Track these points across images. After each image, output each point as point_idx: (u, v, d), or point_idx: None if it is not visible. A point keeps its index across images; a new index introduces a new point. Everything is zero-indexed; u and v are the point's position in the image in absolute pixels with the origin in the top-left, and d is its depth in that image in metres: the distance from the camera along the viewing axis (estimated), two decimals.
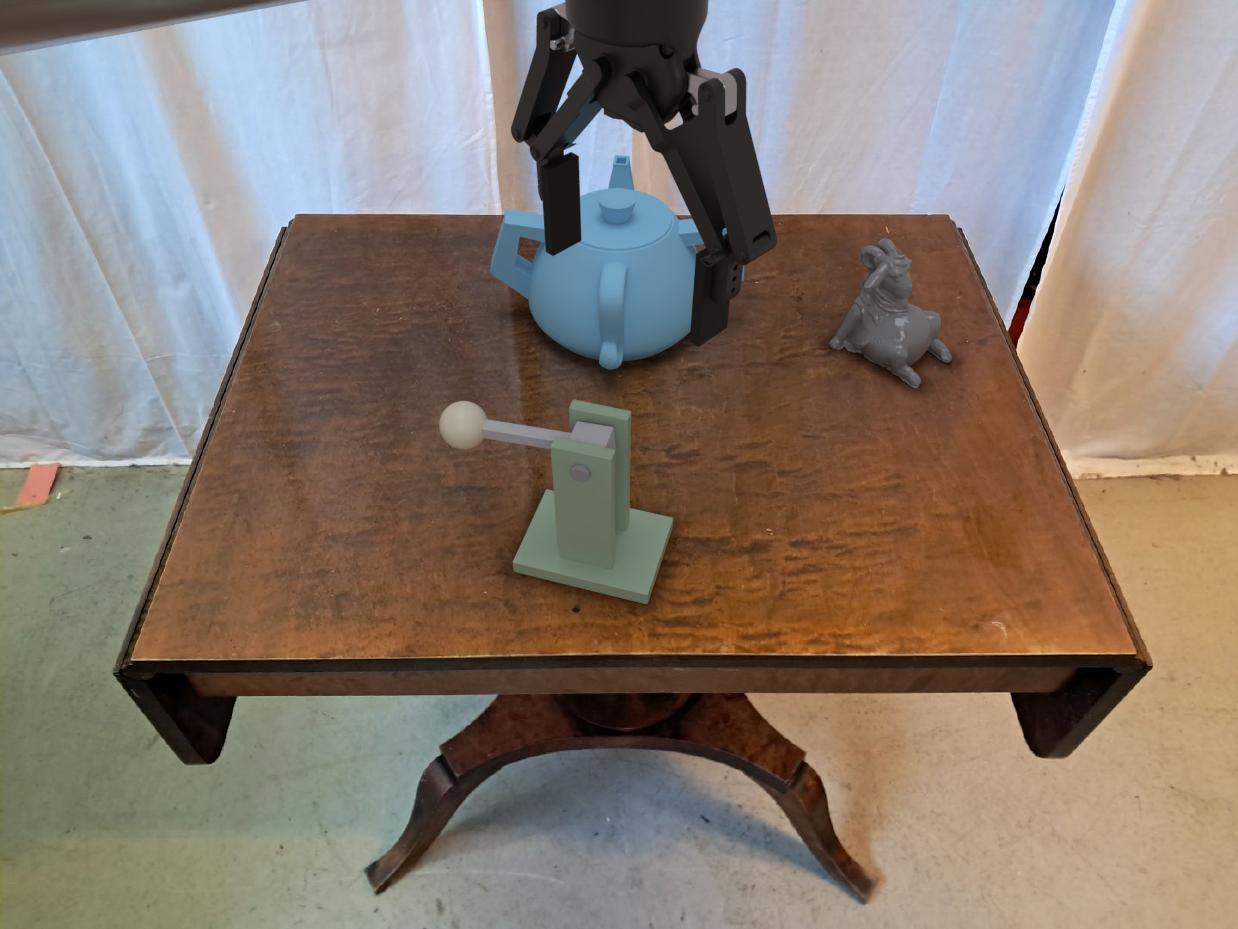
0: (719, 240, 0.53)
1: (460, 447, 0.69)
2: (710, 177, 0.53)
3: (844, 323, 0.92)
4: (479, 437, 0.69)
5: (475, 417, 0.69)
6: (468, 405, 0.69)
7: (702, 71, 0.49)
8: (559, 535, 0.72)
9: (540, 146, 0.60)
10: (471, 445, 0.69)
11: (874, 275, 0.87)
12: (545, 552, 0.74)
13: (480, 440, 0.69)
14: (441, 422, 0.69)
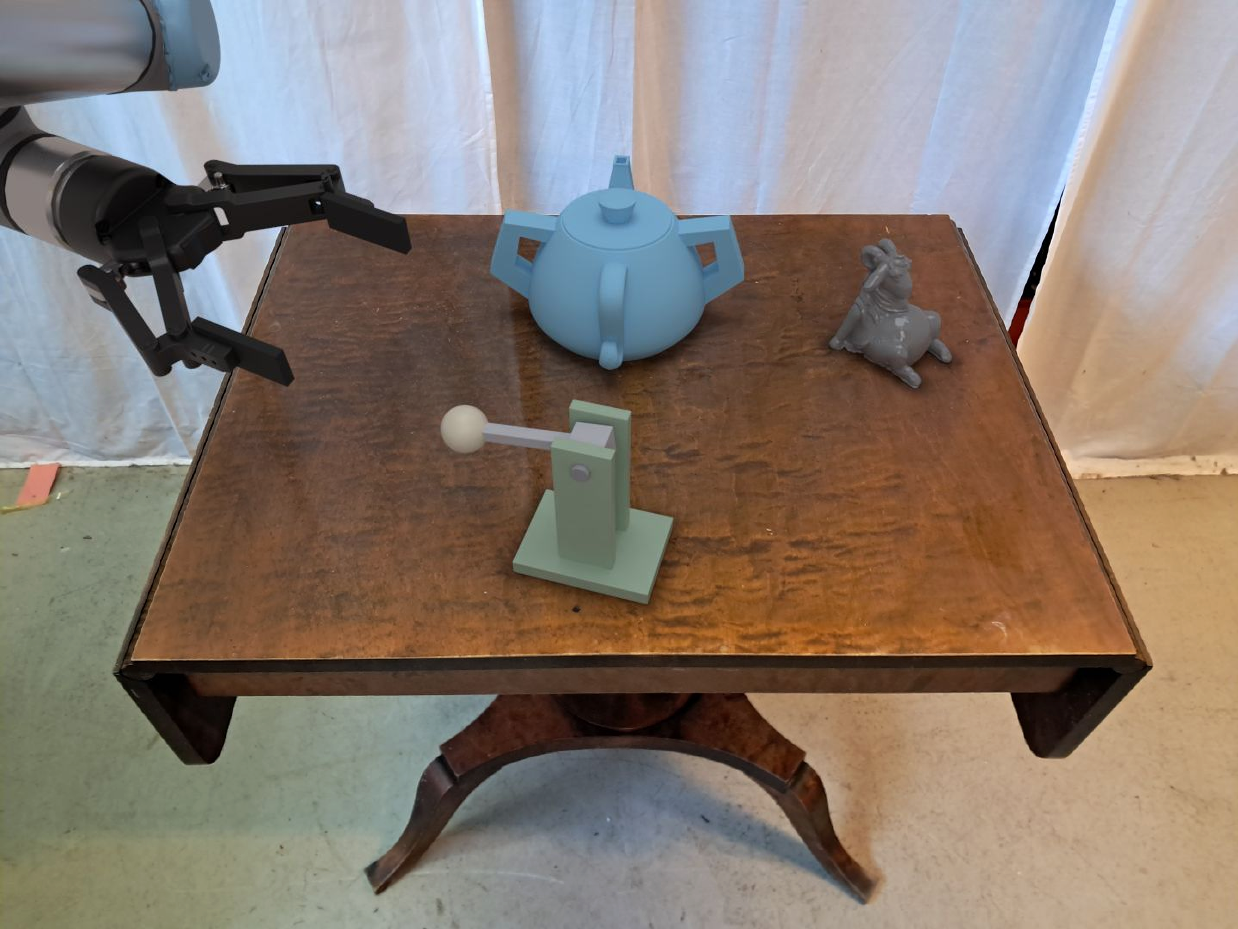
0: None
1: (461, 451, 0.70)
2: None
3: (844, 323, 0.92)
4: (480, 440, 0.69)
5: (475, 420, 0.69)
6: (468, 409, 0.69)
7: None
8: (559, 535, 0.72)
9: (173, 318, 0.59)
10: (472, 449, 0.70)
11: (874, 275, 0.87)
12: (545, 552, 0.74)
13: (481, 443, 0.70)
14: (442, 426, 0.69)
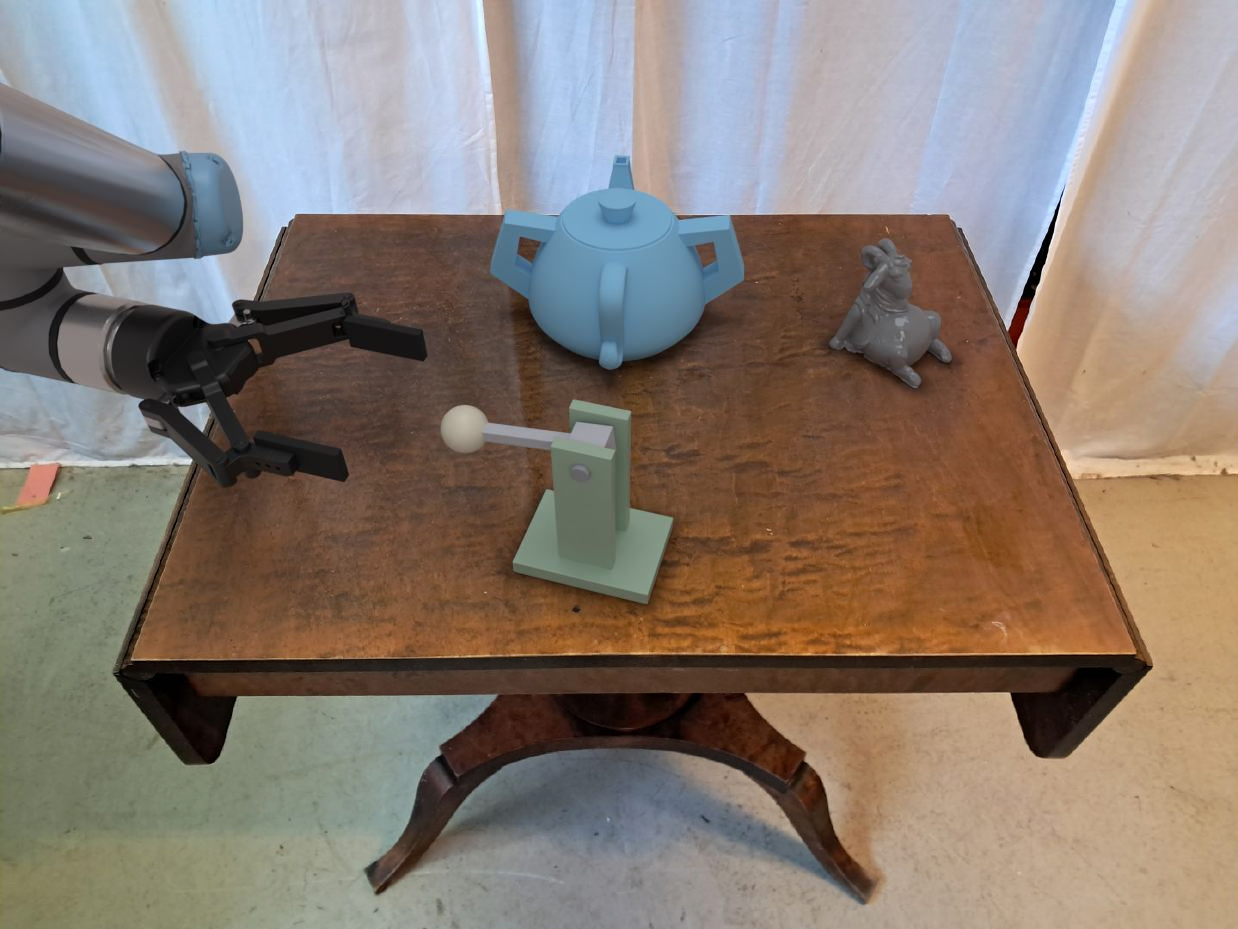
0: None
1: (461, 451, 0.70)
2: None
3: (844, 323, 0.92)
4: (480, 440, 0.69)
5: (475, 420, 0.69)
6: (468, 409, 0.69)
7: None
8: (559, 535, 0.72)
9: (236, 434, 0.67)
10: (472, 449, 0.70)
11: (874, 275, 0.87)
12: (545, 552, 0.74)
13: (481, 443, 0.70)
14: (442, 426, 0.69)
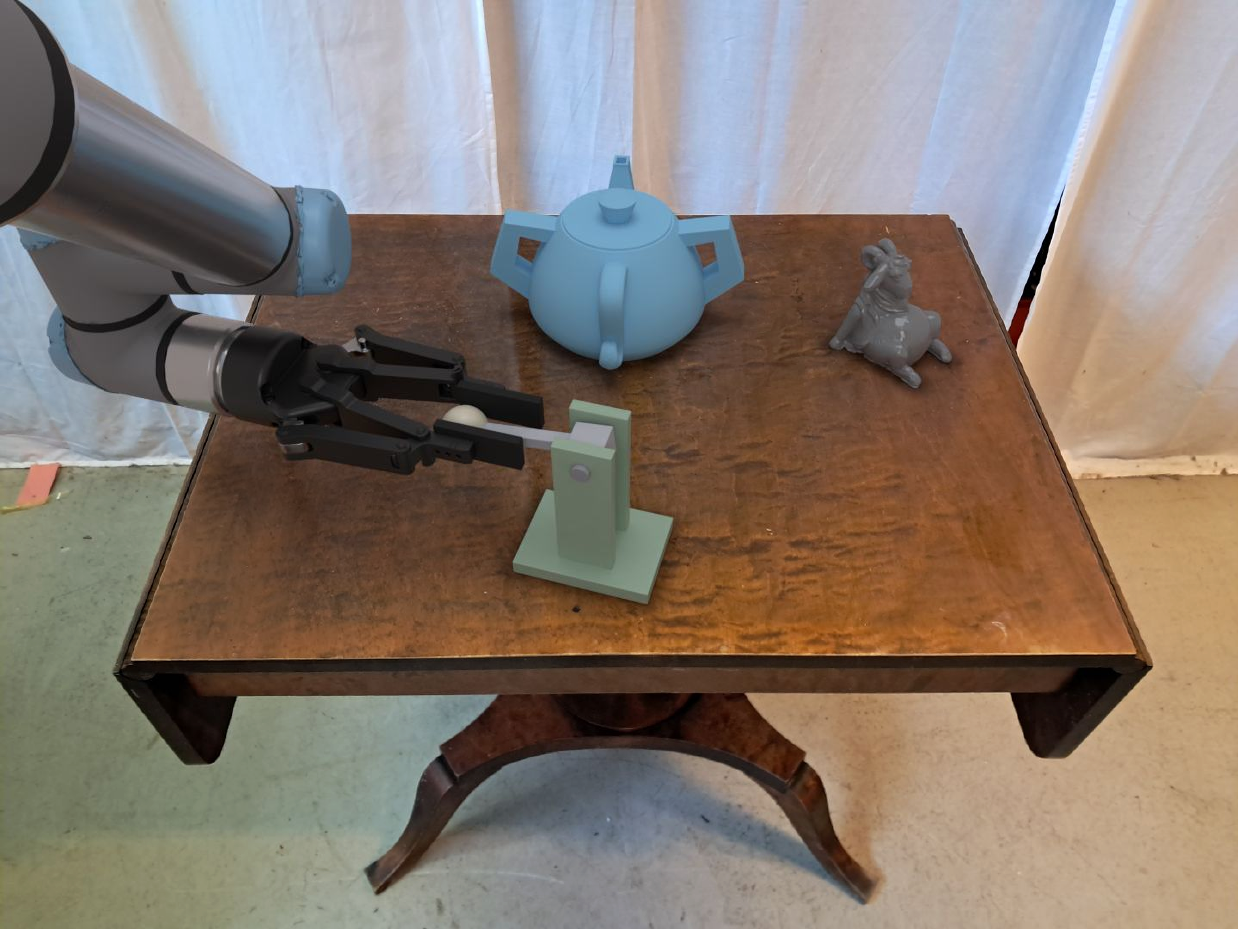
0: None
1: None
2: None
3: (844, 323, 0.92)
4: None
5: (475, 420, 0.69)
6: (468, 409, 0.69)
7: None
8: (559, 535, 0.72)
9: (410, 426, 0.67)
10: None
11: (874, 275, 0.87)
12: (545, 552, 0.74)
13: None
14: None
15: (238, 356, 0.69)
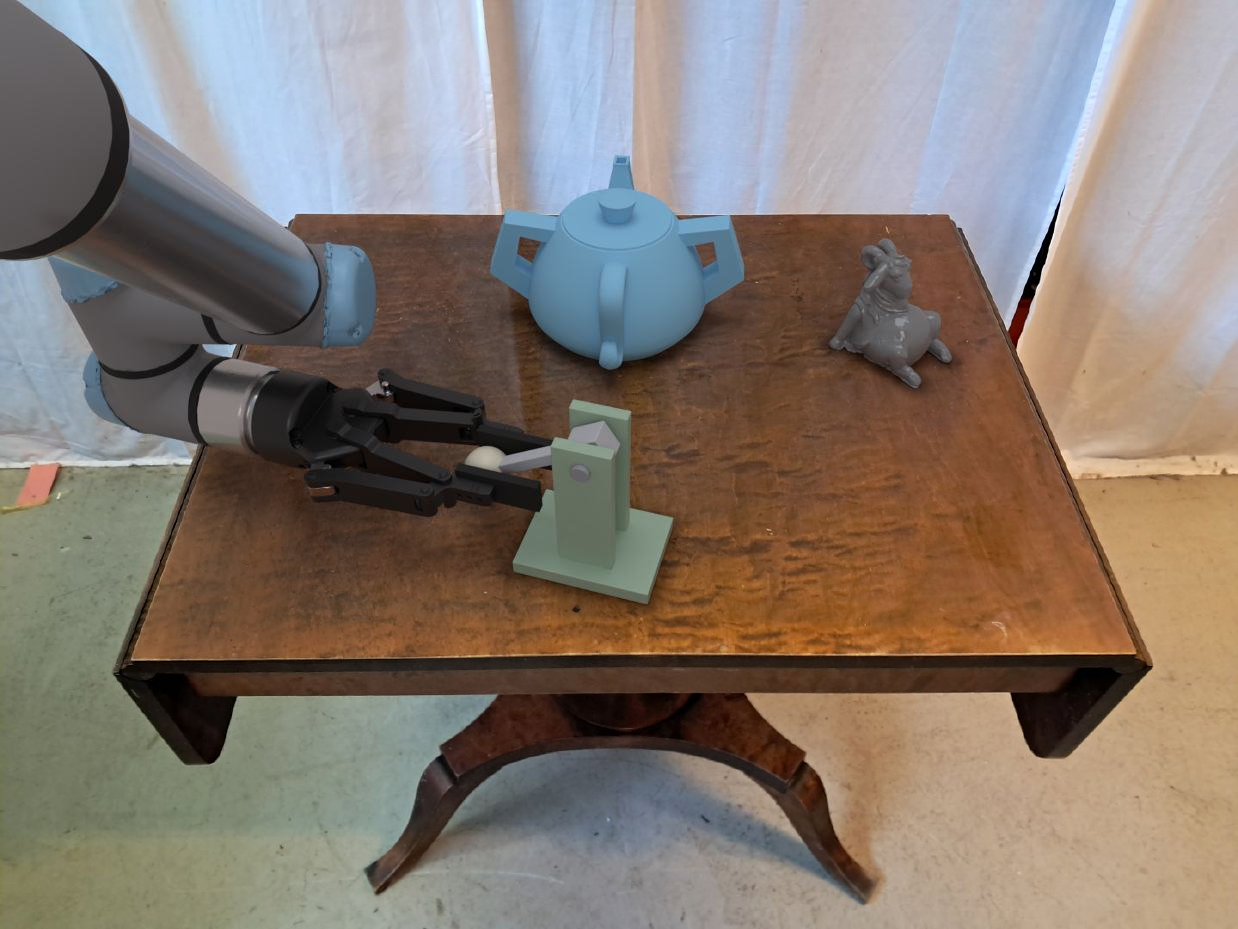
0: (470, 414, 0.74)
1: None
2: None
3: (844, 323, 0.92)
4: None
5: (489, 456, 0.71)
6: (482, 449, 0.72)
7: None
8: (559, 535, 0.72)
9: (433, 470, 0.70)
10: None
11: (874, 275, 0.87)
12: (545, 552, 0.74)
13: None
14: None
15: (268, 402, 0.72)
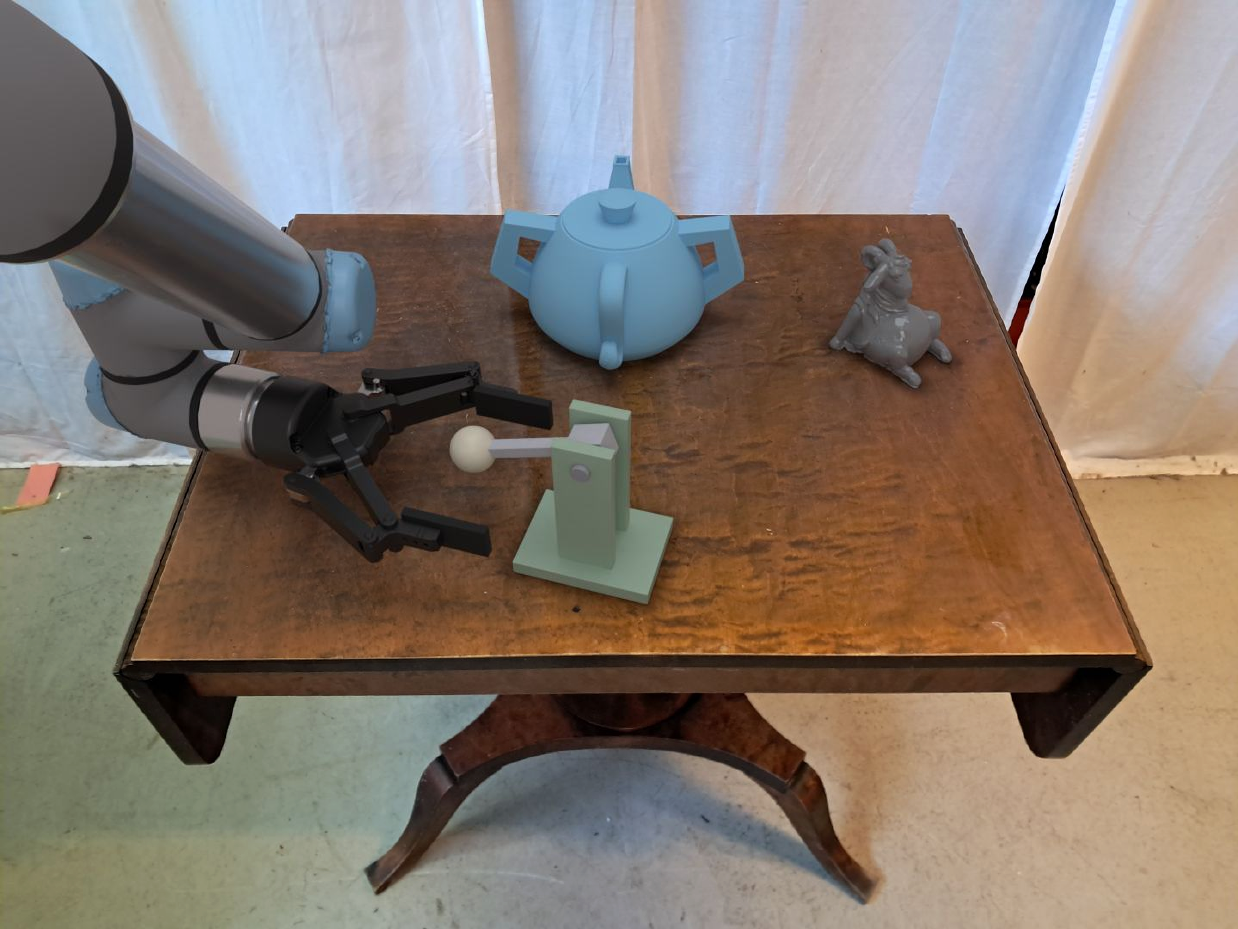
0: None
1: (472, 470, 0.71)
2: None
3: (844, 323, 0.92)
4: (487, 457, 0.71)
5: (479, 438, 0.70)
6: (472, 429, 0.71)
7: None
8: (559, 535, 0.72)
9: (383, 511, 0.68)
10: (481, 467, 0.71)
11: (874, 275, 0.87)
12: (545, 552, 0.74)
13: (489, 461, 0.71)
14: (450, 449, 0.71)
15: (268, 407, 0.72)
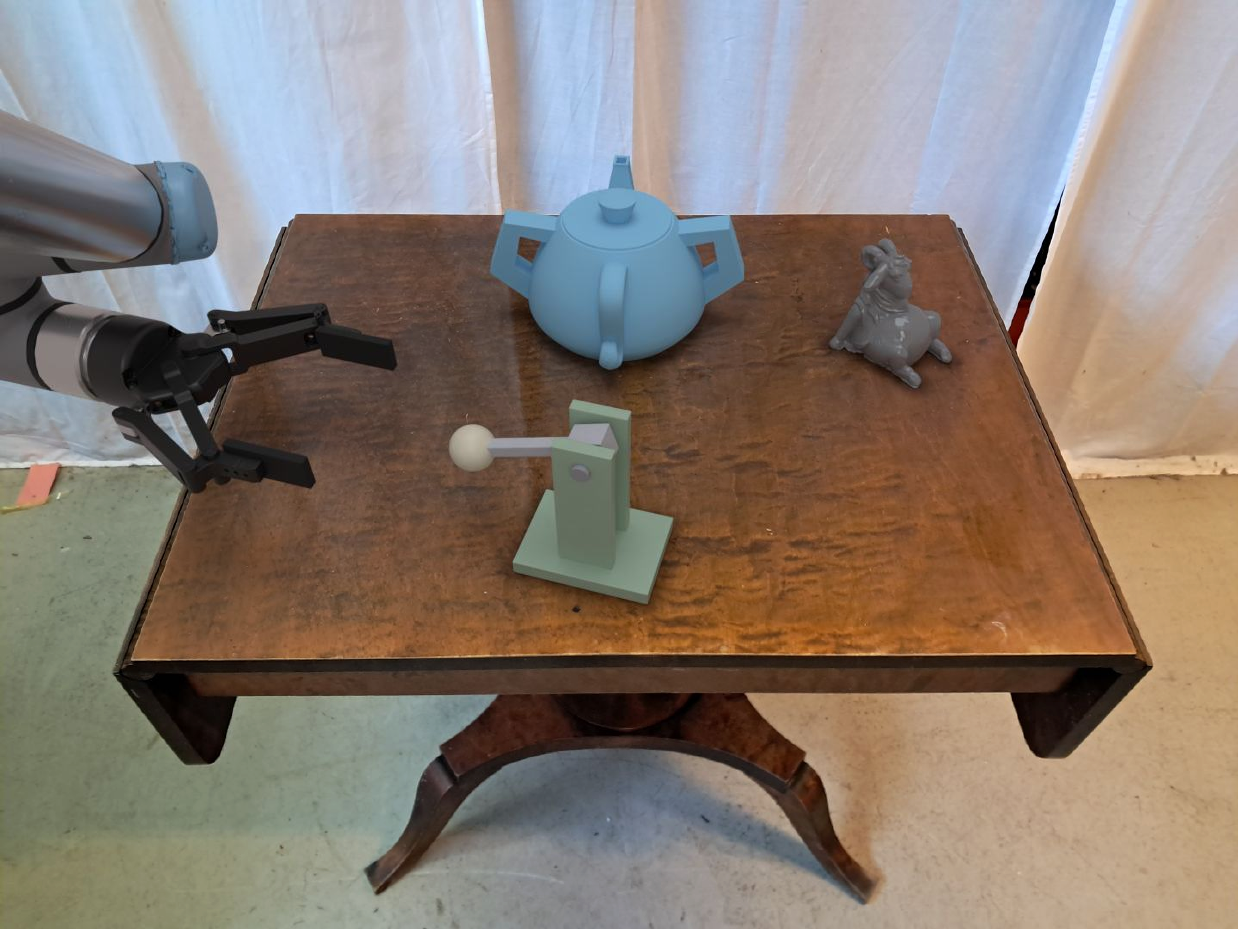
0: None
1: (471, 469, 0.71)
2: None
3: (844, 323, 0.92)
4: (487, 456, 0.70)
5: (479, 437, 0.70)
6: (472, 427, 0.71)
7: None
8: (559, 535, 0.72)
9: (205, 442, 0.68)
10: (481, 465, 0.71)
11: (874, 275, 0.87)
12: (545, 552, 0.74)
13: (489, 459, 0.71)
14: (449, 448, 0.71)
15: (102, 343, 0.73)
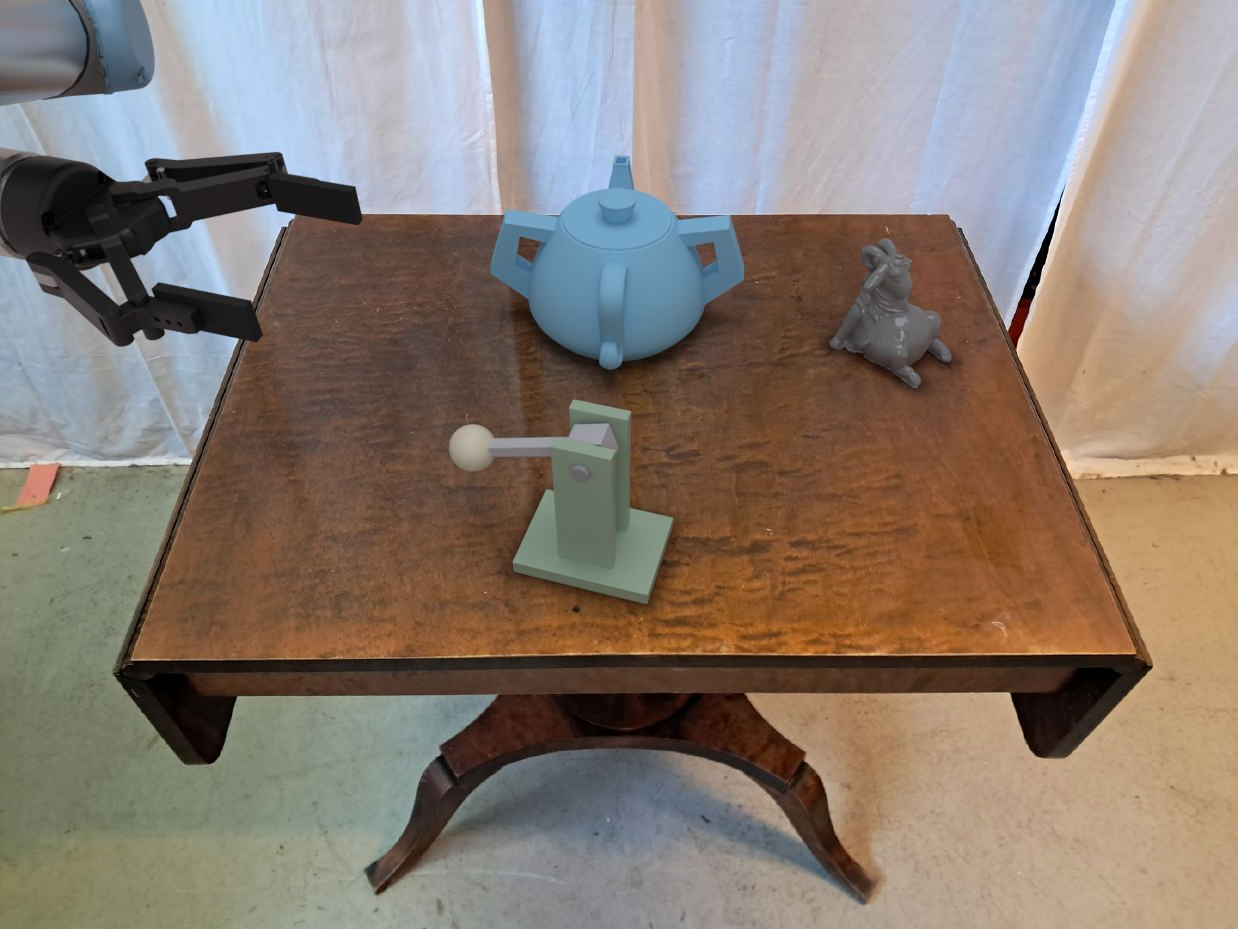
0: None
1: (471, 469, 0.71)
2: None
3: (844, 323, 0.92)
4: (487, 456, 0.70)
5: (479, 437, 0.70)
6: (472, 427, 0.71)
7: None
8: (559, 535, 0.72)
9: (133, 286, 0.58)
10: (481, 465, 0.71)
11: (874, 275, 0.87)
12: (545, 552, 0.74)
13: (489, 459, 0.71)
14: (449, 448, 0.71)
15: (17, 182, 0.63)
